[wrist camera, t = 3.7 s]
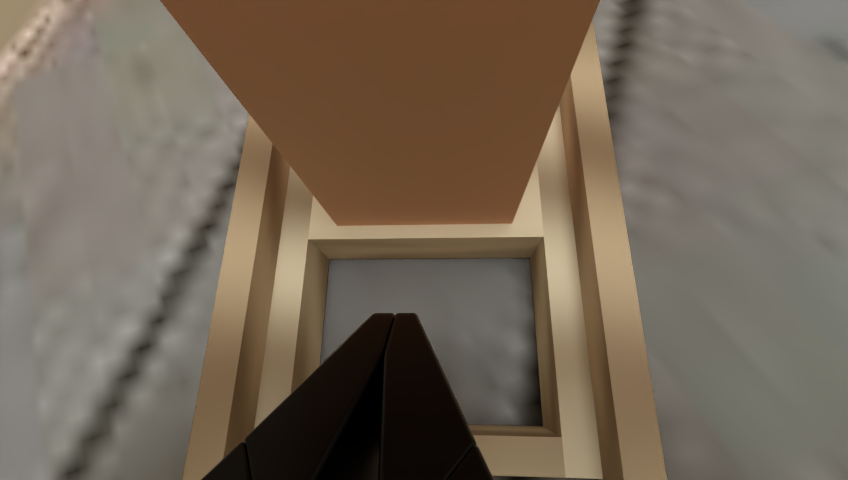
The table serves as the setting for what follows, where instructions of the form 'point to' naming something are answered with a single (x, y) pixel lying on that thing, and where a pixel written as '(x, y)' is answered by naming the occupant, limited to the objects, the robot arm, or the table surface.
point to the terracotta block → (398, 96)
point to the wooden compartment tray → (525, 238)
